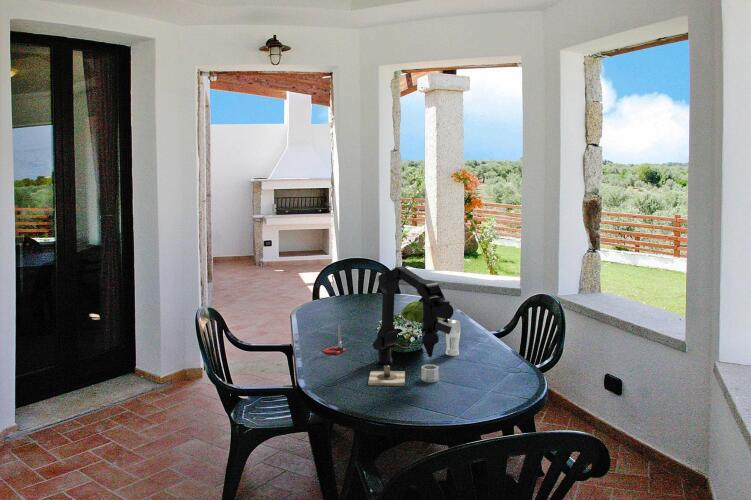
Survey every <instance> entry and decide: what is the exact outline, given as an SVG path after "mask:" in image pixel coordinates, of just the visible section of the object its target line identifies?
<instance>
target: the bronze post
mask: <svg viewBox="0 0 751 500" xmlns="http://www.w3.org/2000/svg"><path fill="white" fill-rule="evenodd" d="M383 371H384V377H385V378H389V377H390V371H391V364H383Z"/></svg>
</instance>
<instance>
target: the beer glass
mask: <svg viewBox="0 0 751 500" xmlns="http://www.w3.org/2000/svg"><path fill="white" fill-rule="evenodd" d="M448 323H450V324H451V325H452V328H451V331H450V334H446V333H445V332H444V338H445V342H446V343H445V344H446V348H445V349H446V350H445V355H446V356H451V357H457V356H459V355H460V350H459V349H460V348H459V345H460V344H459V343H460V339H461V321H460V320H458V319H448Z"/></svg>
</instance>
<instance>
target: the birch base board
mask: <svg viewBox="0 0 751 500" xmlns="http://www.w3.org/2000/svg"><path fill="white" fill-rule="evenodd" d="M405 378H406V371H404V370H402V371H401V370H400V371H399V370H390V377H389V378H385V377H384V370H370V372H369V377H368V383H367V385H368V386H383V385H384V387H385V386H386V387H387V386H393V387H395V386H399V387H401V386H405V382H406V381H405V380H406V379H405Z"/></svg>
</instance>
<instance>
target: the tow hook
mask: <svg viewBox="0 0 751 500" xmlns="http://www.w3.org/2000/svg"><path fill="white" fill-rule="evenodd" d="M337 327H338V328H337V329H338V330H337V332H338V333H337V334H338V337H337V338H338V341H337V342H338V345H337V346H338V347H335V346H334V347H328V348H325V349H324V350H323V353H324V354H329V355H333V354H334V355H340V354H342V353H344V352H346V350H347V349H346V348H344V346H343V341H342V333H341V331H342V330H341V325H340V324H339V325H338V326H337Z"/></svg>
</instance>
